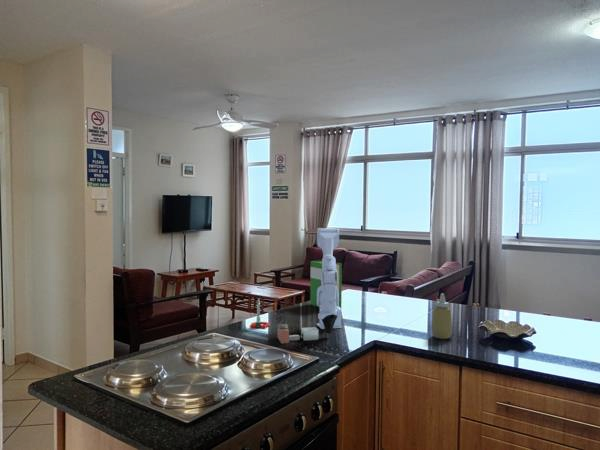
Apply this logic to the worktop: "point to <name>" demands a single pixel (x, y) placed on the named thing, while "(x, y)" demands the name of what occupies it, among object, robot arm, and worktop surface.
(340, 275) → the hardback book
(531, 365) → the worktop surface
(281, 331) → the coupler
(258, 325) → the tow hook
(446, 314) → the squeeze bottle
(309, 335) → the lock block
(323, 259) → the robot arm
